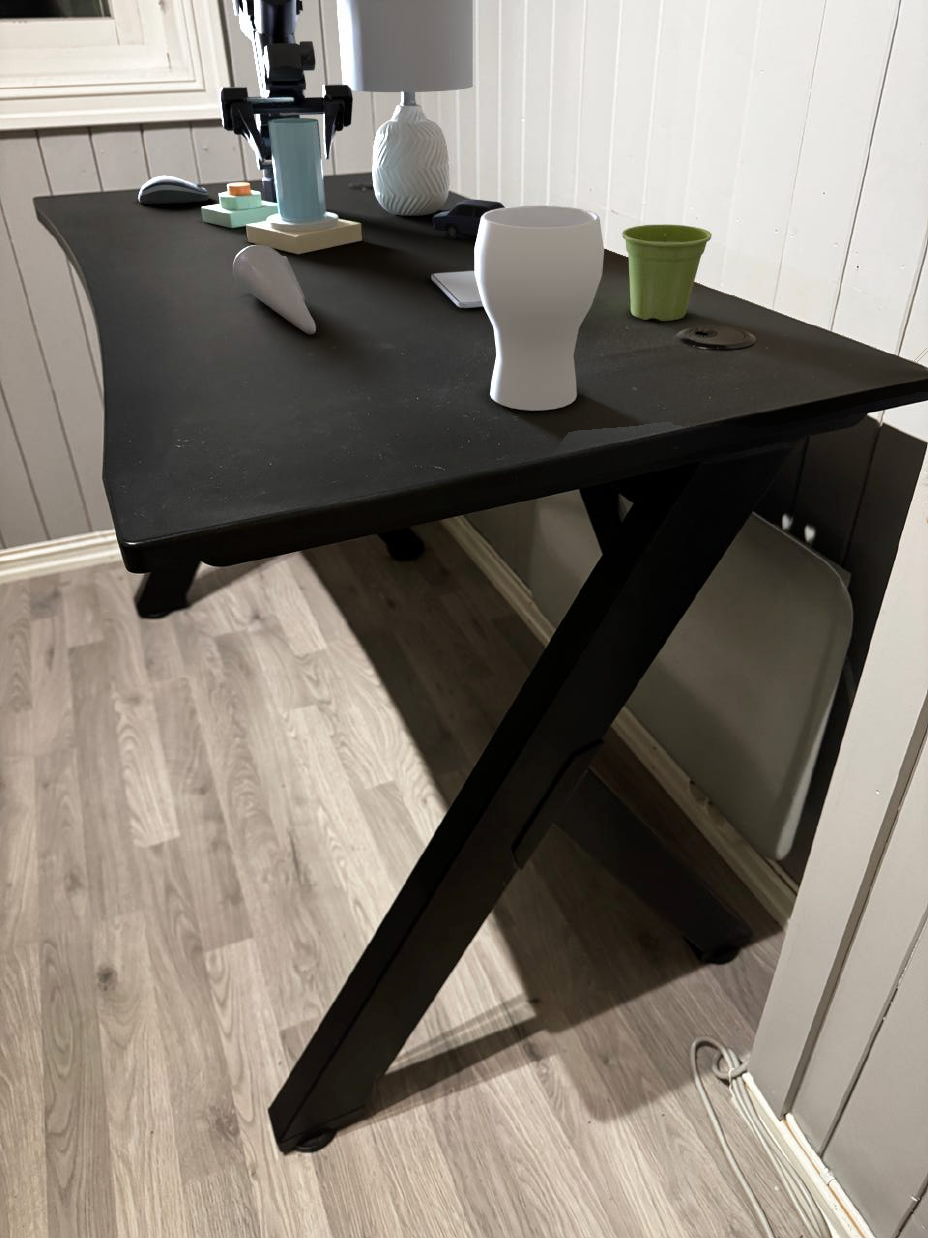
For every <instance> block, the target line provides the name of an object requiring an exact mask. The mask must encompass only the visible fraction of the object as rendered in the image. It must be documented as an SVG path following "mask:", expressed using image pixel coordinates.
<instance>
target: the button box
mask: <svg viewBox="0 0 928 1238" xmlns="http://www.w3.org/2000/svg"><path fill="white" fill-rule="evenodd" d="M218 197H219V203H217V204H212V205H205V206H201V214H202V221H203V222H205V223H208V224H213V225H216V226H221V227H225V228H229V229H236V228H241V227H246V225H247V224H253V223H258V222H263V221H267V218H268V217H269V216H272V215H275V214H278V205H277V204H276V203H271V202H266V201H265V200H263V199H262V193H261V192H260V191H258V190H252V189H251V195H245V196H229V195H228V190H227V191H224V192H221V193H220V192H219V193H218Z"/></svg>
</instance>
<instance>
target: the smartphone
mask: <svg viewBox="0 0 928 1238" xmlns="http://www.w3.org/2000/svg"><path fill="white" fill-rule="evenodd" d="M430 278H431V281H432V282H433V283H434V284H435V285H436V286H437V287H438V288H439V289H440V290H441V291H442V292H443V293H444V294H445V295H446V296H447V297H448V298H449V299H450V300H451V301H452V302H453V303H454V304H455V305H456V306H457V307H458V308H460V309H461V308H462V309H470V308H471V309H472V308H484V306H483V303H482V300H481V296H480V292H479V288H478V285H477V281H476V277H475V269H474V270H460V271H446V272H445V271H444V272H435V273H432V274H431V277H430Z"/></svg>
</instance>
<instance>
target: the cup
mask: <svg viewBox="0 0 928 1238" xmlns="http://www.w3.org/2000/svg"><path fill="white" fill-rule="evenodd" d="M505 207H506V208H500V209H495V210H491V211H489V212H486V213H484V214H483V215H482V217H481V221H480V226H479V231H478V235H476V236H477V237H476V241H475V245H474V270H475V277H476V281H477V285H478V288H479V292H480V296H481V300H482V303H483V306H484V307H483V308H484V311H485V312H486V314H487V316H488V318H489V320H490V323H491V325H492V327H493V334H494V342H495V353H496V356H495V362H494V367H493V372H492V378H491V384H490V393H489V395H490V398H491V399H492V400H493V401H494V402H495V403H497V404H499V405H501V406H503V407H507V408H510V409H516V410H520V411H533V412H535V411H549V410H556V409H560V408H564V407H567V406H569V405H571V404H572V403H573V402H575V401H576V399H577V396H578V391H577V376H576V367H575V366H576V365H575V357H574V356H575V349H576V345H577V341H578V340H577V339H578V334H579V331H580V330H579V329H580V327H581V326H582V323H583V322H584V320H585V318H586V316H587V315H588V313H589V311H590V309H591V308H592V305H593V303H594V300H595V297H596V294H597V291H598V289H599V285H600V283H601V280H602V277H603V270H604V269H603V268H604V257H605V247H604V239H603V232H602V225H601V219H600V216H599V215H598V214H597V213H595V212H593V211H591V210H588V209H584V208H577V207H571V206H560V205H542V204H541V205H516V206H505Z"/></svg>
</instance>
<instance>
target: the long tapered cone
mask: <svg viewBox="0 0 928 1238" xmlns="http://www.w3.org/2000/svg"><path fill="white" fill-rule="evenodd" d="M232 263H233V264H232V273H233V276H234V277H233V278H234V279H235V281H236V282H237V283H238V285H239V286H240V287H241V288H242V289H244V290H245V291H247V292H248V293H249V294H251V295H252V296H254V297H255V298H257V299H258V300H259V301H260V302H262V303H263V304H265V306H267V307H269V308H270V309H271V310H273V311H274V312H276V313H277V314H278V315H279V316H281V317H282V318H283V319H285V320H286V321H288V322H290V323H291V324H292V325H293V326H295V327H296V328H297V329H299V330H301V331H302V332H304V333H305V334H308V335H313V334H315V333H316V332H317V331H316V330H317V326H316V325H317V324H316V323H315V320H314V319H313V317H312V315H311V313H310V311H309V309H308V306H307V305H306V297H305V295H304V293H303V290H302V288H301V286H300V284H299V282H298V280H297V277H296V275H295V273H294V271H293V268H292V266H291V264H290V261H289V259H288V257H287V256H285V255H284V256H283V255H281V254H280V253H279V252H278V251H277V250H275V248H271V247H268V246H264V245H259V244H253V245H250V246H249V245H248V246H247V247H245V248H243V249H242V250H240V251H239V252H238V253H237V254H236V256H235V258H234V260H233V262H232Z"/></svg>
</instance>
